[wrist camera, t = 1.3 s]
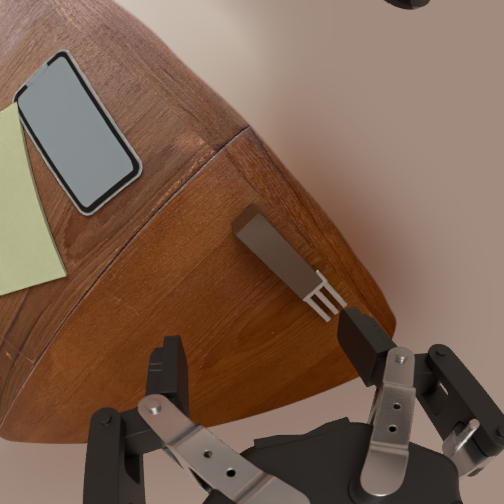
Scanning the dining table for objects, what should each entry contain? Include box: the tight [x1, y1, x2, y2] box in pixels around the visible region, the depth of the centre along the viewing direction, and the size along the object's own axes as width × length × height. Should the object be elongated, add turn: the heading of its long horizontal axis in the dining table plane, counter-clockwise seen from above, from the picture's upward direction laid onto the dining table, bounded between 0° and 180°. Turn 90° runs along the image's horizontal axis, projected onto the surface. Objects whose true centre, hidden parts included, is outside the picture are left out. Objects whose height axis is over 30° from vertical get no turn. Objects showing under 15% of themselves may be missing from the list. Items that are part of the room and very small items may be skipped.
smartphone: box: [12, 49, 143, 215], centre depth 20 cm, size 7×1×15 cm
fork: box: [231, 204, 347, 322], centre depth 27 cm, size 15×3×3 cm, turn 42°
